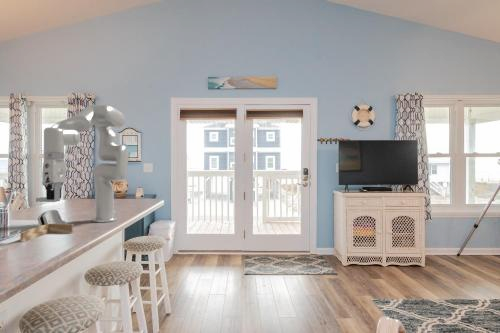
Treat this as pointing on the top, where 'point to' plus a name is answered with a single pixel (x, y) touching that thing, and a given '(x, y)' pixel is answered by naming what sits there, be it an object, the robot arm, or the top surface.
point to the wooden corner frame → (45, 231)
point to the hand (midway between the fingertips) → (53, 198)
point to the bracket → (57, 194)
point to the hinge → (50, 218)
